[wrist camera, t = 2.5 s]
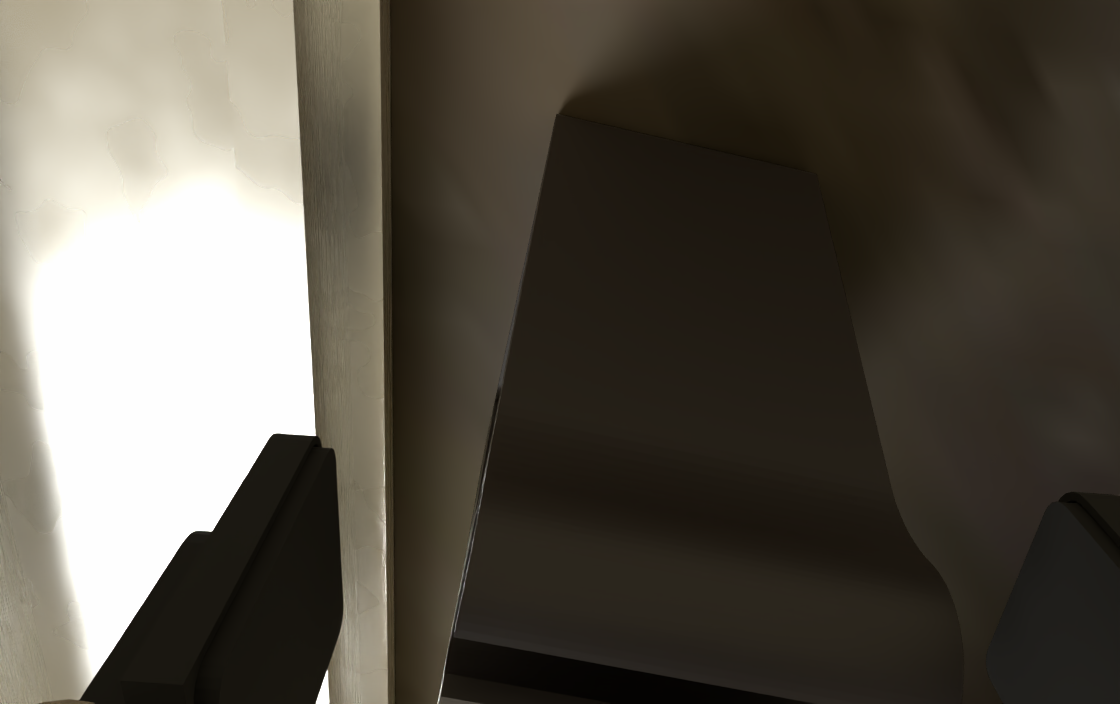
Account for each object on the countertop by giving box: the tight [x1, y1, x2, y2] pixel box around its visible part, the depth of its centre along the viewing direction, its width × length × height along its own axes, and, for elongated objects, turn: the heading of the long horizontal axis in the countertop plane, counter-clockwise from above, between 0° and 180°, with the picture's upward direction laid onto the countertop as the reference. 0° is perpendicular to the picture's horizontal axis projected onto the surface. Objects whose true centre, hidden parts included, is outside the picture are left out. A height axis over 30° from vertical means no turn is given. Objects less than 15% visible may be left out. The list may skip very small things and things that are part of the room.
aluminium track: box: [0, 0, 395, 704], centre depth 20 cm, size 12×28×4 cm, turn 176°
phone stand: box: [438, 114, 964, 704], centre depth 15 cm, size 9×6×12 cm, turn 167°
